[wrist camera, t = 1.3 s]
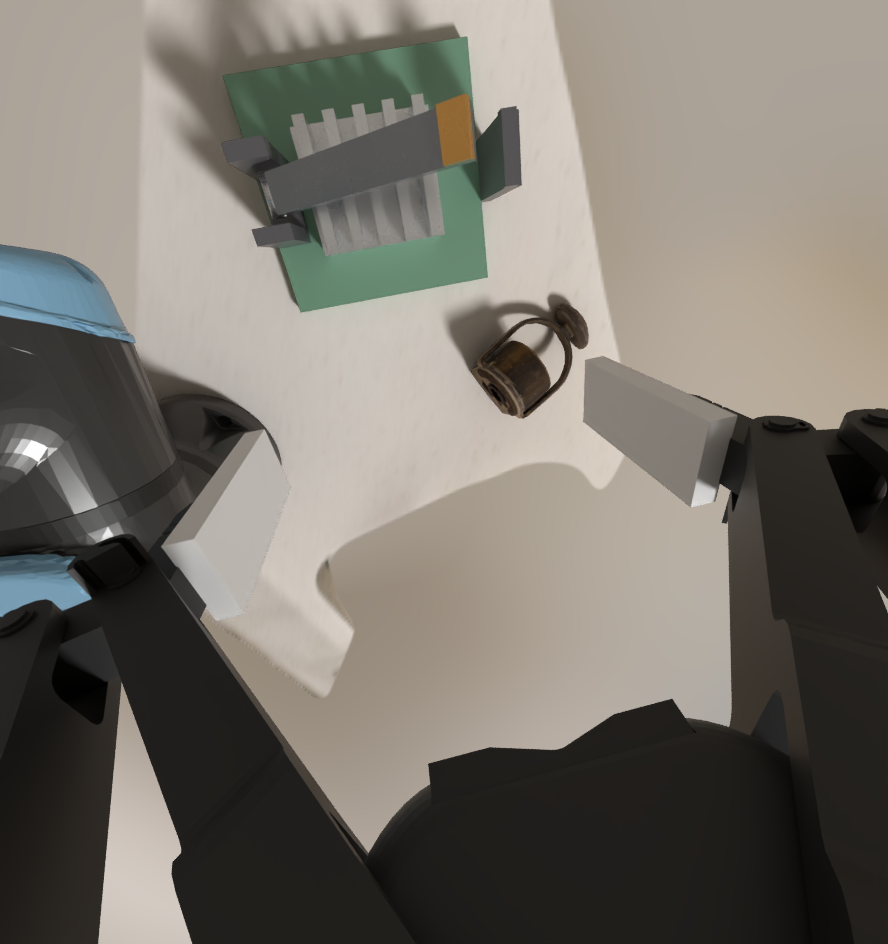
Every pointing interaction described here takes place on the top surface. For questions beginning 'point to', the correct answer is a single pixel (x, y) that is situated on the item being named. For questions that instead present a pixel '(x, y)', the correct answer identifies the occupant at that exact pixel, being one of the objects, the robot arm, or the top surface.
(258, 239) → the grey u-bracket
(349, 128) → the heatsink
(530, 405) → the antique brown clock
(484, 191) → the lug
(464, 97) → the strap
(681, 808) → the robot arm
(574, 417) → the top surface
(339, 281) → the board
